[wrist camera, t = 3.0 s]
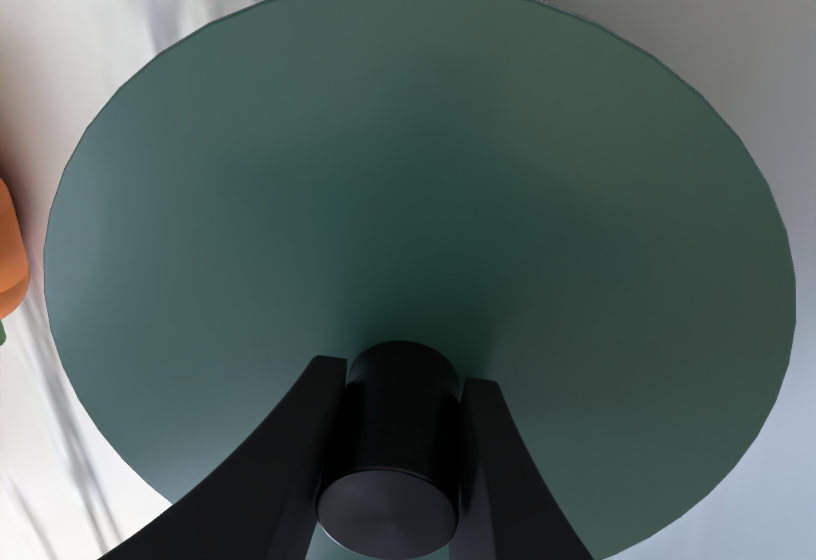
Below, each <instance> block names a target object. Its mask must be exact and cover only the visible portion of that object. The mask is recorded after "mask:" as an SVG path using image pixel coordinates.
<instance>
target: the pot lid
mask: <svg viewBox="0 0 816 560" xmlns="http://www.w3.org/2000/svg"><path fill="white" fill-rule="evenodd" d="M44 294H45V300H46V306H47V311H48V317H49V323H50V329H51V333H52V336H53V339H54V342H55V345H56V348H57V351H58V354H59V357H60V360H61V363H62V366H63V368H64V370H65V372H66V374H67V376H68V379H69V381H70V383H71V385H72V387H73V389H74V391H75V393H76V395H77V397H78V399H79V401H80V402H81V404H82V405H83V407H84V409H85V410H86V412H87V413H88V415H89V416H90V418H91V419H92V421H93V422H94V424H95V425H96V427H97V428H98V430H99V431H100V433H101V434H102V435H103V436H104V437H105V439H106V440H107V441H108V442H109V444H110V445H111V446H112V447H113V448H114V450H115V451H116V452H117V453H118V454H119V456H120V457H121V458H122V459H123V460H124V461H125V462H126V463H127V464H128V465H129V466H130V467H131V468H132V469H133V470H134V471H135V472H136V473H137V474H138V475H139V476H140V477H141V478H142V479H143V480H144V481H145V482H146V483H147V484H148V485H150V486H151V487H152V488H153V489H155V490H156V491H157V492H158V493H160V494H161V495H162V496H163V497H165V498H166V499H167V500H168V501H170V502H171V503H172V504H174V503H176V502H177V501H178V500H179V499H181V498H182V497H183V496H184V495H186V494H187V493H188V492H189V491H190V490H192V489H193V488H194V487H195V486H196V485H197V484H198V483H200V482H201V481H202V480H203V479H204V478H205V477H207V476H208V475H209V474H210V473H211V472H212V471H213V470H214V469H215V468H216V467H217V466H219V465H220V464H221V463H222V462H223V461H224V460H225V459H226V458H227V457H228V456H229V455H230V454H231V453H232V452H233V451H234V450H235V449H236V448H237V447H238V446H239V445H240V444H241V443H242V442H243V441H244V440H245V439H246V438H247V437H248V436H249V435H250V434H251V433H252V432H253V431H254V430H255V429H256V428H257V427H258V425H259V424H260V423H261V422H262V421H263V420H264V419H265V418H266V416H267V415H268V414H269V413H270V412H271V411H272V410H273V409H274V407H275V406H276V405H277V404H278V403H279V402H280V401H281V399H282V398H283V397H284V396H285V394H286V393H287V392H288V391H289V389H290V388H291V387H292V386H293V384H294V383H295V382H296V381H297V379H298V378H299V377H300V375H301V374H302V372H303V371H304V370H305V368H306V367H307V365H308V364H309V362H310V361H311V359H312V358H313V357H315V356H316V355H325V356H331V357H338V358H345V359H348V361H347V373H346V384H345V390H344V394H343V398H342V402H341V406H340V410H339V414H338V417H337V421H336V425H335V429H334V432H333V436H332V439H331V443H330V447H329V451H328V455H327V459H326V463H325V467H324V471H323V475H322V478H321V482H320V486H319V490H318V494H317V498H316V504H315V509H316V515H317V519H318V521H317V524H316V527H315V530H314V533H313V537H312V540H311V543H310V546H309V549H308V552H307V555H306V558H305V560H449V546H448V542H449V541H450V540H451V539H452V538H453V536H454V534H455V533H456V530H457V528H458V524H459V404H460V399H461V395H462V391H463V387H464V382H465V378H466V377H472V378H479V379H485V380H492V381H496V382H497V383H498V385H499V386H500V388H501V391H502V393H503V396H504V398H505V401H506V403H507V406H508V408H509V411H510V413H511V415H512V418H513V420H514V422H515V424H516V426H517V428H518V431H519V433H520V435H521V437H522V439H523V441H524V443H525V445H526V447H527V449H528V451H529V453H530V455H531V457H532V459H533V461H534V463H535V465H536V466H537V468H538V470H539V472H540V474H541V476H542V478H543V479H544V481H545V483H546V485H547V487H548V488H549V490H550V492H551V493H552V495H553V497H554V498H555V500H556V502H557V503H558V505H559V507H560V508H561V510H562V512H563V513H564V515H565V517H566V518H567V520H568V521H569V523H570V524H571V526H572V527H573V529H574V531H575V532H576V534H577V535H578V537H579V538H580V539H581V541H582V542H583V544H584V545H585V547H586V548H587V550H588V551H589V552H590V554H591V555H592V557H593V558H594V560H603V559H605V558H608V557H611V556H613V555H616V554H618V553H620V552H622V551H624V550H626V549H628V548H629V547H631V546H633V545H635V544H637V543H639V542H641V541H643V540H645V539H647V538H649V537H651V536H652V535H654V534H655V533H657V532H658V531H660V530H662V529H663V528H665V527H666V526H668V525H669V524H671V523H672V522H674V521H676V520H677V519H679V518H680V517H681V516H682V515H684V514H685V513H686V512H687V511H689V510H690V509H691V508H692V507H694V506H695V505H696V504H697V503H698V502H700V501H701V500H702V499H703V498H705V497H706V496H707V495H708V494H709V493H710V492H711V491H712V490H713V489H714V488H715V487H716V486H717V485H718V484H719V483H720V482H721V481H722V480H723V479H724V478H725V477H726V476H727V475H728V474H729V473H730V471H731V470H732V469H733V468H734V467H735V466H736V465H737V463H738V462H739V461H740V459H741V458H742V456H743V455H744V454H745V452H746V451H747V450H748V448H749V447H750V446H751V444H752V443H753V442H754V440H755V439H756V437H757V436H758V434H759V432H760V430H761V428H762V427H763V425H764V423H765V421H766V419H767V417H768V415H769V413H770V412H771V410H772V408H773V406H774V404H775V402H776V400H777V397H778V394H779V391H780V388H781V385H782V382H783V379H784V377H785V374H786V371H787V368H788V365H789V361H790V355H791V349H792V343H793V337H794V331H795V325H796V281H795V272H794V267H793V262H792V257H791V251H790V246H789V241H788V236H787V231H786V228H785V226H784V223H783V220H782V218H781V215H780V213H779V210H778V208H777V205H776V203H775V200H774V197H773V195H772V192H771V190H770V187H769V185H768V183H767V181H766V180H765V178H764V176H763V175H762V173H761V171H760V170H759V168H758V167H757V165H756V163H755V162H754V160H753V158H752V157H751V155H750V154H749V152H748V150H747V149H746V147H745V145H744V144H743V142H742V140H741V139H740V138H739V136H738V135H737V134H736V133H735V132H734V131H733V130H732V129H731V127H730V126H729V125H728V124H727V123H726V122H725V121H724V119H723V118H722V117H721V116H720V115H719V114H718V113H717V112H716V110H715V109H714V108H713V107H712V106H711V105H710V104H709V102H708V101H707V100H706V99H705V98H704V97H703V96H702V95H701V94H700V93H699V92H698V91H696V90H695V89H694V88H693V87H691V86H690V85H689V84H688V83H686V82H685V81H684V80H683V79H681V78H680V77H679V76H678V75H677V74H675V73H674V72H673V71H672V70H670V69H669V68H668V67H667V66H665V65H664V64H663V63H662V62H661V61H659V60H658V59H657V58H656V57H654V56H653V55H651V54H650V53H648V52H646V51H645V50H643V49H641V48H639V47H638V46H636V45H634V44H632V43H631V42H629V41H627V40H625V39H624V38H622V37H620V36H619V35H617V34H615V33H613V32H612V31H610V30H608V29H606V28H605V27H603V26H601V25H599V24H598V23H596V22H594V21H592V20H590V19H587V18H585V17H582V16H579V15H577V14H574V13H572V12H569V11H567V10H564V9H561V8H559V7H556V6H554V5H551V4H549V3H546V2H543V1H541V0H264V1H262V2H259V3H257V4H254V5H252V6H249V7H247V8H244V9H242V10H239V11H237V12H234V13H232V14H229V15H227V16H224V17H222V18H219V19H217V20H214V21H212V22H209V23H208V24H206V25H205V26H203V27H201V28H200V29H198V30H196V31H195V32H193V33H191V34H190V35H188V36H186V37H185V38H183V39H181V40H180V41H178V42H176V43H175V44H173V45H172V46H170V47H168V48H167V49H165V50H163V51H162V52H160V53H159V54H158V55H156V56H155V57H154V58H153V59H152V60H151V61H150V62H148V63H147V64H146V65H145V66H144V67H143V68H141V69H140V70H139V71H138V72H137V73H136V74H135V75H133V76H132V77H131V78H130V79H129V80H128V81H126V82H125V83H124V84H123V85H122V86H121V87H120V88H119V89H118V90H117V91H116V92H115V93H114V95H113V96H112V97H111V98H110V100H109V101H108V102H107V103H106V105H105V106H104V107H103V108H102V109H101V111H100V112H99V113H98V114H97V116H96V117H95V118H94V119H93V121H92V122H91V123H90V124H89V125H88V127H87V128H86V130H85V132H84V134H83V136H82V137H81V139H80V141H79V143H78V145H77V146H76V148H75V150H74V152H73V154H72V155H71V157H70V159H69V161H68V163H67V165H66V166H65V168H64V171H63V174H62V177H61V180H60V183H59V186H58V189H57V192H56V195H55V198H54V201H53V204H52V207H51V209H50V214H49V220H48V227H47V233H46V240H45V247H44Z"/></svg>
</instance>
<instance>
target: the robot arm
mask: <svg viewBox="0 0 816 560" xmlns="http://www.w3.org/2000/svg"><path fill="white" fill-rule="evenodd" d="M347 361H348V359H345V358H338V357H331V356H325V355H316V356H315V357H313V358H312V359H311V361H310V362H309V364H308V365H307V367H306V368H305V370H304V371H303V372H302V374H301V375H300V377H299V378H298V379H297V381H296V382H295V383H294V384H293V386H292V387H291V388H290V389H289V391H288V392H287V393H286V394H285V396H284V397H283V398H282V399H281V401H280V402H279V403H278V404H277V405H276V406H275V407H274V409H273V410H272V411H271V412H270V413H269V414H268V415H267V416H266V418H265V419H264V420H263V421H262V422H261V423H260V424H259V425H258V427H257V428H256V429H255V430H254V431H253V432H252V433H251V434H250V435H249V436H248V437H247V438H246V439H245V440H244V441H243V442H242V443H241V444H240V445H239V446H238V447H237V448H236V449H235V450H234V451H233V452H232V453H231V454H230V455H229V456H228V457H227V458H226V459H225V460H224V461H223V462H222V463H221V464H220V465H219V466H217V467H216V468H215V469H214V470H213V471H212V472H211V473H210V474H209V475H208V476H207V477H205V478H204V479H203V480H202V481H201V482H200V483H198V484H197V485H196V486H195V487H194V488H193V489H192V490H190V491H189V492H188V493H187V494H186V495H184V496H183V497H182V498H181V499H179V500H178V501H177V502H176V503H174V504H173V505H172V506H171V507H169V508H168V509H167V510H166V511H164V512H163V513H162V514H160V515H159V516H158V517H157V518H155V519H154V520H153V521H152V522H150V523H149V524H148V525H146V526H145V527H144V528H142V529H141V530H140V531H138V532H137V533H135V534H134V535H133V536H131V537H130V538H128V539H127V540H125V541H124V542H123V543H121V544H120V545H118V546H117V547H115V548H114V549H112V550H111V551H109V552H108V553H106V554H105V555H103V556H102V557H100V558H99V559H97V560H305V558H306V555H307V552H308V549H309V546H310V543H311V540H312V537H313V533H314V530H315V527H316V524H317V521H318V519H317V515H316V509H315V504H316V498H317V494H318V490H319V486H320V482H321V478H322V475H323V471H324V467H325V463H326V459H327V455H328V451H329V447H330V443H331V439H332V436H333V432H334V429H335V425H336V421H337V417H338V414H339V410H340V406H341V402H342V398H343V394H344V390H345V384H346V373H347ZM448 546H449V560H594V558H593V557H592V555H591V554H590V552H589V551H588V550H587V548H586V547H585V545H584V544H583V542H582V541H581V539H580V538H579V537H578V535H577V534H576V532H575V531H574V529H573V527H572V526H571V524H570V523H569V521H568V520H567V518H566V517H565V515H564V513H563V512H562V510H561V508H560V507H559V505H558V503H557V502H556V500H555V498H554V497H553V495H552V493H551V492H550V490H549V488H548V487H547V485H546V483H545V481H544V479H543V478H542V476H541V474H540V472H539V470H538V468H537V466H536V465H535V463H534V461H533V459H532V457H531V455H530V453H529V451H528V449H527V447H526V445H525V443H524V441H523V439H522V437H521V435H520V433H519V431H518V428H517V426H516V424H515V422H514V420H513V418H512V415H511V413H510V411H509V408H508V406H507V403H506V401H505V398H504V396H503V393H502V391H501V388H500V386H499V385H498V383H497V382H496V381H492V380H485V379H479V378H472V377H466V378H465V382H464V387H463V391H462V395H461V399H460V404H459V524H458V528H457V530H456V533H455V534H454V536H453V538H452V539H451V540H450V541H449V542H448Z"/></svg>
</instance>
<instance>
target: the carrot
mask: <svg viewBox="0 0 816 560" xmlns="http://www.w3.org/2000/svg"><path fill="white" fill-rule="evenodd" d="M29 280H30V270H29V263H28V259H27V255H26V251H25V248H24V244H23V240H22V236H21V232H20V228H19V225H18V221H17V217H16V213H15V209H14V206H13V202H12V198H11V196H10V193H9V191H8V188H7V186H6V185H5V183H4V182H3V180H2V179H1V177H0V346H1V345H2V344H3V343H4V342H5V340H6V334H5V331H4V328H3V324H2V321H1V319H3V318H5V317H6V316H7V315H9V314H10V313H12V312H13V311H14V310H15V309H16V308H17V306H18V305H19V304H20V303H21V301H22V300H23V298H24V296H25V294H26V292H27V290H28V286H29Z"/></svg>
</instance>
